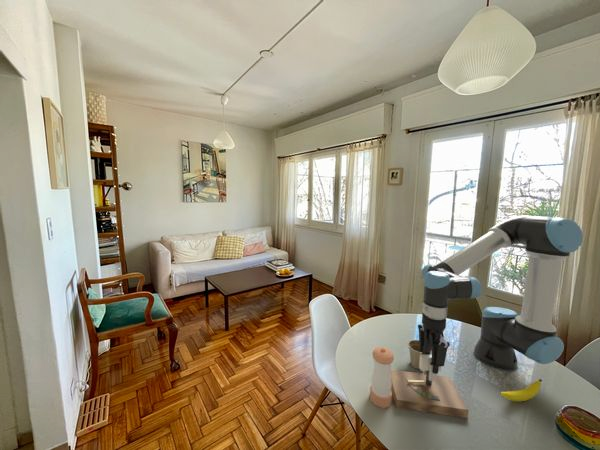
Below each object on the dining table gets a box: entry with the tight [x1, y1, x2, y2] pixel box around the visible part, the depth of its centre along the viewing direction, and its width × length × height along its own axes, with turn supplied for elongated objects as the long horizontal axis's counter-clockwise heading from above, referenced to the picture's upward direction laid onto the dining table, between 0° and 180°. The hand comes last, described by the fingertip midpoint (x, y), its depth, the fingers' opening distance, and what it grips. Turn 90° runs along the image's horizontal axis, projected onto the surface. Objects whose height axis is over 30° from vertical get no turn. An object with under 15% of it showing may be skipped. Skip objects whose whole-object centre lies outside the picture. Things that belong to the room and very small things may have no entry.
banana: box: [500, 378, 543, 402], centre depth 87 cm, size 3×19×6 cm, turn 104°
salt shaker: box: [369, 346, 395, 409], centre depth 86 cm, size 7×7×19 cm
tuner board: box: [391, 369, 469, 419], centre depth 89 cm, size 22×15×3 cm
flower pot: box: [407, 339, 432, 371], centre depth 105 cm, size 9×9×9 cm
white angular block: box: [408, 354, 442, 386], centre depth 90 cm, size 11×2×11 cm, turn 89°
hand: (429, 376), depth 90 cm, fingers closed on white angular block, 2 cm apart
